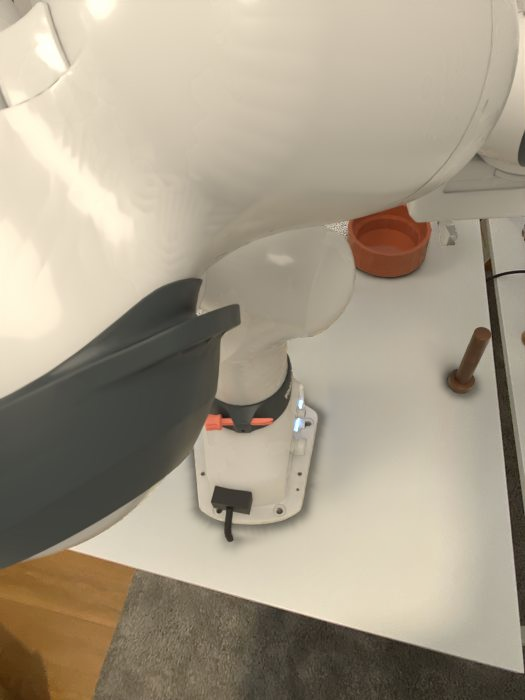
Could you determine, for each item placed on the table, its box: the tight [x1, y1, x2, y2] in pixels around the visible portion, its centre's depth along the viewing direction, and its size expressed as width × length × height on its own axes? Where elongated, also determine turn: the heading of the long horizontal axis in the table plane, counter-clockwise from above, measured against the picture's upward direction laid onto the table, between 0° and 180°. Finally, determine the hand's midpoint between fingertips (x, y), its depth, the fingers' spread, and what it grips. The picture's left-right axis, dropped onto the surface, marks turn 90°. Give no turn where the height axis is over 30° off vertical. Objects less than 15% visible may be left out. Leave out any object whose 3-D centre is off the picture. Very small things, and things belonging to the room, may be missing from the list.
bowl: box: [346, 204, 433, 278], centre depth 91 cm, size 14×14×6 cm
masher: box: [447, 326, 492, 395], centre depth 70 cm, size 4×4×12 cm
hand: (487, 240), depth 59 cm, fingers open, 8 cm apart
